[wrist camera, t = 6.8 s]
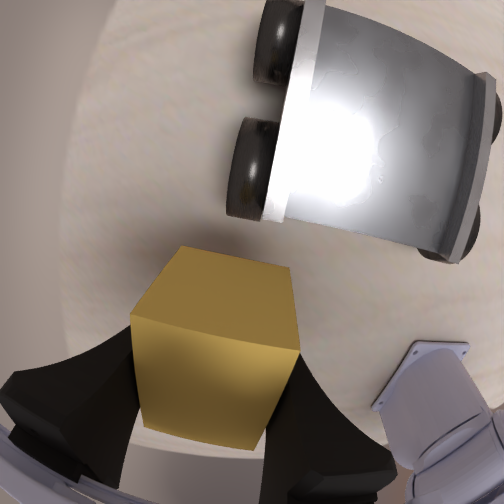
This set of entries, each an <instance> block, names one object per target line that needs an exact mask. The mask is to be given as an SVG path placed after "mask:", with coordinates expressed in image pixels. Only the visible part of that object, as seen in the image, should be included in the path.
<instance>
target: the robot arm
mask: <svg viewBox="0 0 504 504" xmlns="http://www.w3.org/2000/svg"><path fill="white" fill-rule="evenodd" d="M469 348H470V345H469V343H444V342H421V341H418V342H415V343H414V344H413V346H412V347H411V349H410V351H409V352H408V354H407V356H406V357H405V359H404V360H403V362H402V364H401V365H400V367H399V368H398V370H397V371H396V373H395V375H394V376H393V378H392V379H391V381H390V382H389V383H388V385H387V386H386V388H385V389H384V391H383V392H382V393H381V395H380V396H379V398H378V399H377V400H376V402H375V403H374V404H373V406H372V407H371V409H372V411H379V412H380V416H381V419H382V422H383V425H384V429H385V432H386V436H387V439H388V443H389V446H390V450H391V451H389V450H387V449H386V448H384V447H383V446H381V445H380V444H378V443H377V442H375V441H374V440H372V439H371V438H369V437H368V436H367V435H366V434H364V433H363V432H362V431H361V430H359V429H358V428H357V427H356V426H355V425H354V424H353V423H351V422H350V421H349V420H348V419H347V418H346V417H345V416H344V415H343V414H342V413H341V412H340V411H339V410H338V409H337V407H336V406H335V405H334V404H333V403H332V402H331V400H330V399H329V398H328V397H327V395H326V394H325V393H324V391H323V390H322V389H321V387H320V386H319V384H318V383H317V381H316V380H315V378H314V377H313V375H312V373H311V372H310V370H309V368H308V367H307V365H306V363H305V361H304V360H303V358H302V356H301V354H300V353H299V356H298V358H297V360H296V363H295V365H294V367H293V370H292V372H291V374H290V377H289V379H288V381H287V383H286V386H285V388H284V390H283V392H282V394H281V397H280V399H279V401H278V403H277V405H276V407H275V409H274V411H273V413H272V416H271V418H270V420H269V422H268V424H267V426H266V443H265V455H264V466H263V476H262V483H261V491H260V499H259V504H374V502H376V501H377V499H378V498H377V492H378V491H379V490H381V489H382V488H383V487H385V486H386V485H388V484H390V483H391V482H392V481H393V480H394V479H395V478H396V476H397V475H398V474H397V469H396V465H395V461H394V458H395V460H396V461H397V462H398V463H399V464H400V465H401V466H403V467H404V468H407V469H412V470H414V473H412V474H411V475H410V477H409V479H408V482H407V486H406V490H405V501H406V502H405V503H404V504H472V503H473V504H504V410H497V411H496V412H495V413H492V412H491V411H490V409H489V407H488V405H487V403H486V402H485V400H484V398H483V396H482V395H481V393H480V391H479V390H478V388H477V386H476V385H475V383H474V381H473V380H472V378H471V377H470V375H469V373H468V372H467V370H466V369H465V367H464V366H463V364H462V363H461V361H462V359H463V358H464V356H465V355H466V353H467V352H468V350H469ZM0 403H1V405H2V406H3V408H4V409H5V411H6V412H7V413H8V415H9V416H10V418H11V419H12V420H13V422H14V423H15V424H16V425H15V426H14V428H13V430H12V431H9V430H8V429H7V428H5V427H4V426H3V425H1V424H0V487H1V488H2V489H3V490H4V491H6V492H7V493H8V494H9V495H10V496H12V497H13V498H14V499H15V500H17V501H18V502H19V503H21V504H96V503H95V502H94V501H92V500H90V499H89V498H87V497H85V496H83V495H81V494H79V493H77V492H76V491H79V492H80V493H83V494H85V495H87V496H89V497H91V498H93V499H95V500H98V501H100V502H102V503H105V504H158V503H154V502H151V501H148V500H144V499H141V498H138V497H135V496H132V495H129V494H127V493H123V492H121V491H119V490H116V489H118V488H119V483H120V478H121V472H122V468H123V463H124V459H125V455H126V451H127V447H128V443H129V440H130V436H131V433H132V430H133V426H134V423H135V420H136V417H137V414H138V411H139V409H140V402H139V395H138V389H137V382H136V374H135V366H134V357H133V348H132V336H131V325H129V326H128V327H126V328H125V329H123V330H122V331H121V332H119V333H118V334H116V335H115V336H113V337H111V338H110V339H108V340H107V341H105V342H103V343H102V344H100V345H98V346H96V347H94V348H92V349H90V350H88V351H86V352H84V353H82V354H80V355H77V356H75V357H72V358H69V359H67V360H64V361H61V362H58V363H55V364H51V365H48V366H44V367H40V368H35V369H28V370H23V371H15V372H14V373H13V374H12V375H11V376H10V378H9V379H8V380H7V382H6V383H5V384H4V385H3V387H2V388H1V389H0ZM393 457H394V458H393ZM501 484H502V485H501ZM498 486H499V487H498ZM70 487H71V488H73V489H74V490H76V491H74V490H72V489H71V488H70ZM495 488H496V489H495ZM494 489H495V490H494ZM491 491H492V492H491ZM488 493H489V494H488ZM485 495H486V496H485ZM483 496H484V497H483ZM480 498H481V499H480ZM477 500H478V501H477ZM475 501H476V502H475Z"/></svg>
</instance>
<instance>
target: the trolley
mask: <svg viewBox="0 0 504 504" xmlns="http://www.w3.org/2000/svg"><path fill="white" fill-rule="evenodd" d="M325 4H326V0H304V1H301V0H267V1H266V3H265V7H264V10H263V14H262V18H261V22H260V27H259V32H258V37H257V43H256V50H255V58H254V68H253V79H254V81H258V82H264V83H270V84H275V85H280V86H285V87H286V85H287V87H286V92H285V97H284V102H283V107H282V112H281V117H280V122H279V123H277V122H272V121H266V120H261V119H255V118H249V117H245V118H244V120H243V122H242V124H241V127H240V131H239V134H238V138H237V142H236V146H235V150H234V155H233V160H232V165H231V170H230V176H229V183H228V191H227V200H226V214H227V216H232V217H237V218H243V219H248V220H253V221H259V222H260V219H261V215H262V219H265V220H271V221H276V222H281V223H283V218H284V217H287V218H292V219H297V220H302V221H307V222H311V223H316V224H321V225H325V226H330V227H334V228H339V229H343V230H347V231H352V232H356V233H360V234H364V235H369V236H373V237H377V238H381V239H385V240H389V241H393V242H397V243H401V244H405V245H409V246H413V247H416V248H417V249H418V251H419V252H420V254H421V255H422V256H423V257H425V258H427V259H431V260H435V261H438V262H442V263H446V264H454V263H456V264H459V262H460V261H461V260H462V259H463V258H464V257H465V256H466V255H467V254H468V253H469V252H470V250H471V249H472V247H473V245H474V243H475V241H476V239H477V236H478V232H479V227H480V207H479V201H480V197H481V193H482V189H483V185H484V180H485V176H486V171H487V166H488V161H489V155H490V149H491V145H492V143H493V142H494V141H495V139H496V137H497V135H498V133H499V130H500V127H501V123H502V106H501V102H500V99H499V96H498V94H497V93H496V79H495V78H493V77H492V76H491V75H490V74H488V73H487V72H483V73H477V74H474V73H473V72H471V71H470V70H468V69H467V68H465V67H464V66H462V65H461V64H459V63H458V62H456V61H454V60H453V59H451V58H450V57H448V56H446V55H444V54H443V53H441V52H439V51H438V50H436V49H434V48H432V47H430V46H428V45H427V44H425V43H423V42H421V41H419V40H417V39H415V38H413V37H411V36H409V35H406V34H404V33H402V32H400V31H398V30H395V29H393V28H391V27H388V26H386V25H384V24H381V23H378V22H376V21H373V20H371V19H368V18H365V17H362V16H359V15H356V14H353V13H350V12H347V11H344V10H341V9H337V8H334V7H330V6H326V5H325ZM287 81H288V82H287ZM262 211H263V213H262Z"/></svg>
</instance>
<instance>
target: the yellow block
mask: <svg viewBox="0 0 504 504" xmlns="http://www.w3.org/2000/svg"><path fill="white" fill-rule="evenodd" d="M130 323H131V336H132V348H133V357H134V366H135V374H136V382H137V389H138V395H139V402H140V408H141V413H142V419H143V424H144V427H146V428H149V429H153V430H156V431H159V432H163V433H166V434H170V435H174V436H177V437H181V438H185V439H190V440H194V441H198V442H203V443H208V444H213V445H218V446H224V447H230V448H237V449H243V450H251V451H254V449H255V447H256V445H257V443H258V441H259V440H260V438H261V436H262V434H263V432H264V430H265V428H266V426H267V424H268V422H269V420H270V418H271V416H272V413H273V411H274V409H275V407H276V405H277V403H278V401H279V399H280V397H281V394H282V392H283V390H284V388H285V386H286V383H287V381H288V379H289V377H290V374H291V372H292V370H293V367H294V365H295V363H296V360H297V358H298V356H299V353H300V351H301V350H300V342H299V334H298V326H297V319H296V311H295V304H294V297H293V290H292V283H291V276H290V269H289V268H288V267H283V266H278V265H274V264H269V263H264V262H259V261H254V260H249V259H244V258H239V257H235V256H230V255H225V254H220V253H215V252H211V251H206V250H201V249H196V248H191V247H187V246H181V247H180V248H179V249H178V251H177V252H176V253H175V254H174V256H173V257H172V258H171V260H170V261H169V262H168V263H167V265H166V266H165V267H164V269H163V270H162V271H161V273H160V274H159V275H158V276H157V278H156V279H155V280H154V282H153V283H152V284H151V286H150V287H149V288H148V290H147V291H146V292H145V294H144V295H143V297H142V298H141V299H140V301H139V302H138V303H137V305H136V306H135V307H134V309H133V310H132V312H131V313H130Z"/></svg>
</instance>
